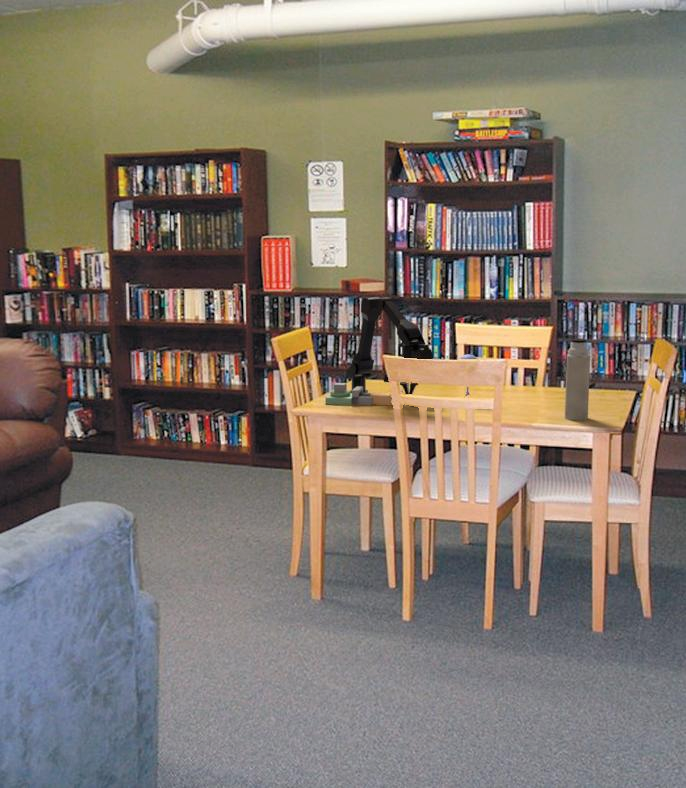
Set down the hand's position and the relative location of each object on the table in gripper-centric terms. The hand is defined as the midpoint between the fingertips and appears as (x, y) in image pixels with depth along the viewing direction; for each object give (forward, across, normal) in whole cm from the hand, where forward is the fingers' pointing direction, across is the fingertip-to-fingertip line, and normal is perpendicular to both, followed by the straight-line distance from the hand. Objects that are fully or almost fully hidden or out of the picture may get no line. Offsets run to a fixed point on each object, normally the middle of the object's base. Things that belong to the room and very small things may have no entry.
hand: (409, 400), depth 403 cm
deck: (+1, -22, 0) cm, 22 cm away
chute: (+1, -9, 0) cm, 9 cm away
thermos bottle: (+1, +62, -14) cm, 64 cm away
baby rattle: (+2, +21, +12) cm, 24 cm away
